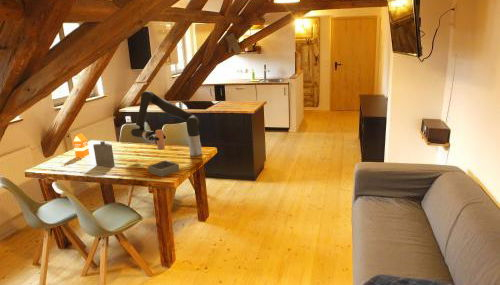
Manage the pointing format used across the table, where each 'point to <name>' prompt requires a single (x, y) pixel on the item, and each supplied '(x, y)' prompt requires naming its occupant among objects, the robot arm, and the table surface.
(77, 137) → the orange juice
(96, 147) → the hip flask
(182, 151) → the table surface
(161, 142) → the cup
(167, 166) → the tote
